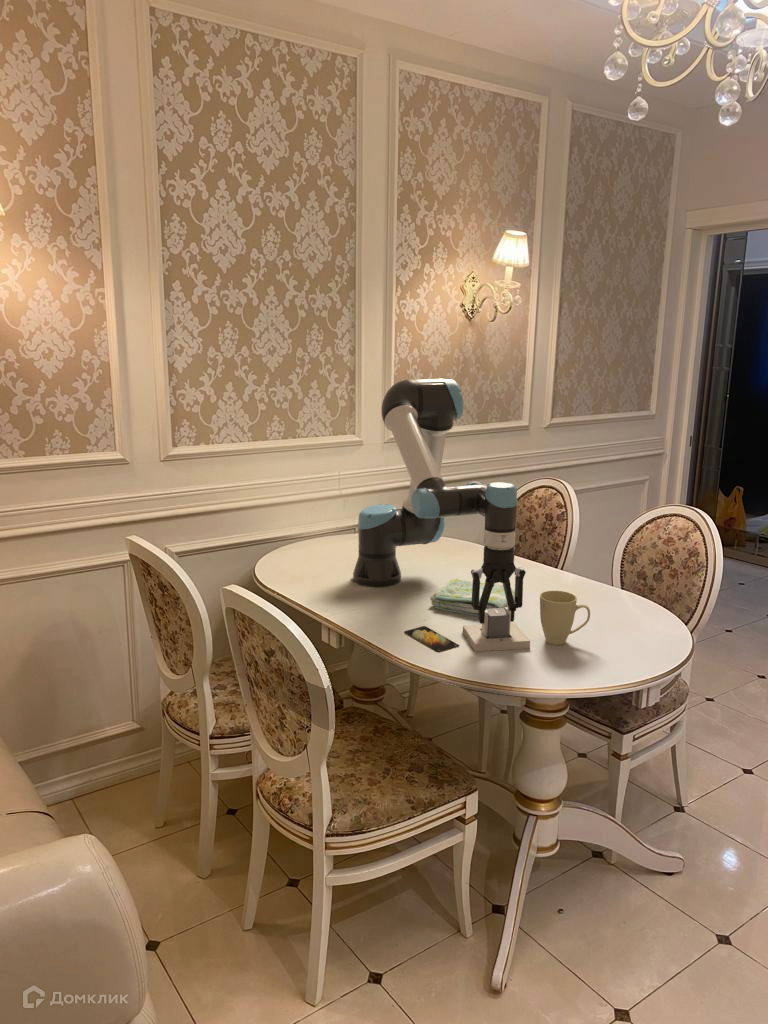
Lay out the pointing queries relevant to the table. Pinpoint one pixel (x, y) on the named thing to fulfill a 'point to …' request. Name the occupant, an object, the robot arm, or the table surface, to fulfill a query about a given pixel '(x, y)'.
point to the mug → (559, 615)
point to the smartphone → (431, 639)
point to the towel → (467, 597)
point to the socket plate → (495, 639)
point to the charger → (498, 623)
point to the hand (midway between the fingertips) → (495, 633)
